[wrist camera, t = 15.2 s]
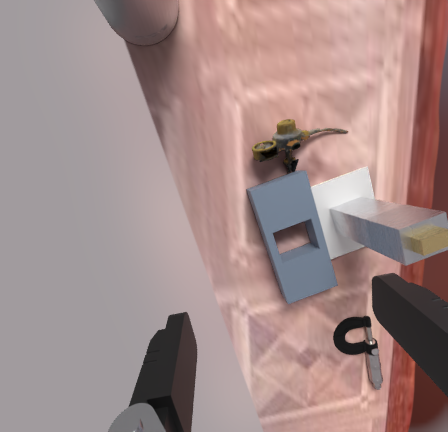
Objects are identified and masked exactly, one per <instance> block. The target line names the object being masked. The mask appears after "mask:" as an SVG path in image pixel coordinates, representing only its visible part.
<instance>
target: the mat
mask: <svg viewBox="0 0 448 432" xmlns="http://www.w3.org/2000/svg"><path fill="white" fill-rule="evenodd" d="M311 190H312V194H313V198H314V201H315V205H316V208H317V212H318V216H319V219H320V223H321V226H322V230H323V234H324V237H325V241H326V245H327V248H328V252H329V255H330V259H334V258H336V257H339V256H342V255H344V254H347V253H349V252H352V251H355V250H357V249H360V248H363V247H365V246H364V245H362V244H360V243H357V242H355V241H353V240H351V239H349V238H347V237H345V236H343V235H341V234H338V233H336V230H335V227H334V223H333V219H332V215H331V211H330V208H332V207H335V206H337V205H340V204H343V203H345V202H348V201H351V200H353V199H356V198H359V197H364V198H370V199H375V198H374V193H373V189H372V184H371V180H370V175H369V170H368V167H363V168H360V169H357V170H355V171H352V172H349V173H347V174H344V175H341V176H339V177H336V178H333V179H330V180H328V181H325V182H322V183H320V184H317V185H314V186H312V187H311Z"/></svg>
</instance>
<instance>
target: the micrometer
mask: <svg viewBox="0 0 448 432" xmlns="http://www.w3.org/2000/svg"><path fill="white" fill-rule="evenodd" d="M360 327H366V334H367V339H366V340H364V342H359V343H348V342H346V340H345V335H346V333H347V332H348V331H349V330H351V329H355V328H360ZM333 340H334V344H335V346H336V347H337V348H338V349H339V350H340V351H341V352H343V353H346V354H351V355H356V354H361V353H363V352H365V351H366V359H367V360H366V361H367V366H368V372H369V373H368V374H369V379H370V381H371V382H373V383H372V384H373V387H374V388H375V389H377V390H379V389H381V383H382V382H383V378H382V373H381V363H380V359H379V350H378V344H377V341H376V340H375V339H374V338H372V331H371V319H370V317H369V316H364V317H363V318H362V317H351V318H347V319H345V320H343V321H342V322H341V323H340V324H339V325H338V326H337V328H336V329H335V332H334V336H333Z"/></svg>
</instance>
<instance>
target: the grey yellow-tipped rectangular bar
mask: <svg viewBox="0 0 448 432" xmlns="http://www.w3.org/2000/svg"><path fill="white" fill-rule="evenodd" d="M330 211H331V215H332V219H333V223H334V227H335V230H336V233H338V234H341V235H343V236H345V237H347V238H349V239H351V240H353V241H355V242H357V243H360V244H362V245H364V246H366V247H368V248H370V249H372V250H374V251H376V252H379V253H381V254H383V255H385V256H387V257H389V258H391V259H393V260H395V261H398V262H400V263H402V264H404V265H409V264H411V263H414V262H417V261H419V260H422V259H425V258H427V257H430V256H432V255H435V254H438V253H440V252H443V251H446V250H448V222H447V215H446V212H444V211H438V210H432V209H427V208H421V207H415V206H410V205H404V204H398V203H393V202H387V201H381V200H376V199H370V198H364V197H359V198H356V199H353V200H351V201H348V202H345V203H343V204H340V205H337V206H335V207H332V208H330Z"/></svg>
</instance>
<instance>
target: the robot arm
mask: <svg viewBox="0 0 448 432" xmlns="http://www.w3.org/2000/svg"><path fill="white" fill-rule="evenodd" d="M94 1H95V3H96V4H97V6H98V8H99V9H100V11H101V12H102V14H103V15H104V17H105V18H106V20H107V21H108V23H109V24H110V26H111V28H112V29H113V30H114V31H115V32H116V33H117V34H118V35H119V36H121V37H122V38H123V39H124V40H126V41H128V42H130V43H133V44H137V45H152V44H156V43H158V42H160V41H162V40H163V39H165V38H166V37H167V36H168V35H169V34H170V32H171V31H172V30H173V28H174V26H175V24H176V21H177V17H178V11H179V2H178V0H94ZM372 307H373V312H374V314H375V316H376V318H377V320H378V321H379V323H380V324H381V325H382V326H383V327H384V328H385V329H386V330H387V331H388V332H389V334H390V335H391V336H392V337H393V338H394V339H395V340H396V341H397V342H398V343H399V344H400V346H401V347H402V348H403V349H404V350H405V351H406V352H407V353H408V354H409V355H410V356H411V358H412V359H413V360H414V361H415V362H416V363H417V364H418V365H419V366H420V367H421V368H422V369H423V370H424V372H425V373H426V374H427V375H428V376H429V377H430V378H431V379H432V380H433V381H434V383H435V384H436V385H437V386H438V387H439V388H440V389H441V390H442V391H443V392H444V393H445V395H446V396H447V397H448V303H447V302H446V301H444V300H441V299H440V297H438V296H437V295H435V294H434V293H432V292H431V291H430V290H428V289H426V288H424V287H421V286H419V285H416V284H414V283H408V282H406V281H405V280H404V279H402V278H401V277H399V276H398V275H397V274H395V273H389V274H384V275H379V276H374V277H373V279H372ZM196 363H197V344H196V340H195V336H194V332H193V329H192V326H191V322H190V319H189V315H188V313H187V312H184V313H179V314H173V315H170V316H169V317H168V321H167V324H166V328H165V329H162V330H158V331H157V333H156V334H155V335H154V337H153V338H152V339H151V341H150V343H149V346H148V349H147V354H146V355H145V358H144V362H143V365H142V368H141V371H140V374H139V377H138V380H137V383H136V386H135V389H134V393H133V395H132V398H131V401H130V405H129V407H128V408H127V409H126V410H124V411H123V412H122V413H121V414H120V415H119V416H118V417H117V418H116V419H115V420H114V422H113V423H112V425H111V427H110V429H109V431H108V432H191V426H192V414H193V401H194V388H195V376H196Z"/></svg>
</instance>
